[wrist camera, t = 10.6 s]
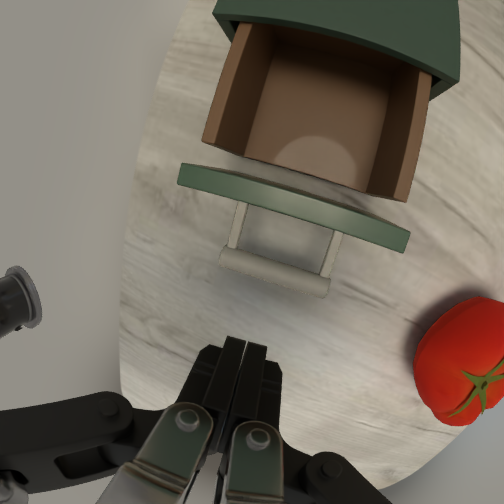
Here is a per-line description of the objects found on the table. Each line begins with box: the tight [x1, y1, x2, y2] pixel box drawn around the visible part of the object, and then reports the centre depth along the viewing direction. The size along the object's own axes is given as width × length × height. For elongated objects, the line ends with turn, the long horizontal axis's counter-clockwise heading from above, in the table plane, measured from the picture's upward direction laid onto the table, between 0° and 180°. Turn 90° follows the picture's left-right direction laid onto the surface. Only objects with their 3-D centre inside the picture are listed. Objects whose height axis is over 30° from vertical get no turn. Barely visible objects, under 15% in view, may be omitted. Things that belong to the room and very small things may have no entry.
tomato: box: [413, 296, 504, 426], centre depth 18 cm, size 13×12×8 cm
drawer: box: [177, 21, 432, 299], centre depth 16 cm, size 18×12×8 cm
